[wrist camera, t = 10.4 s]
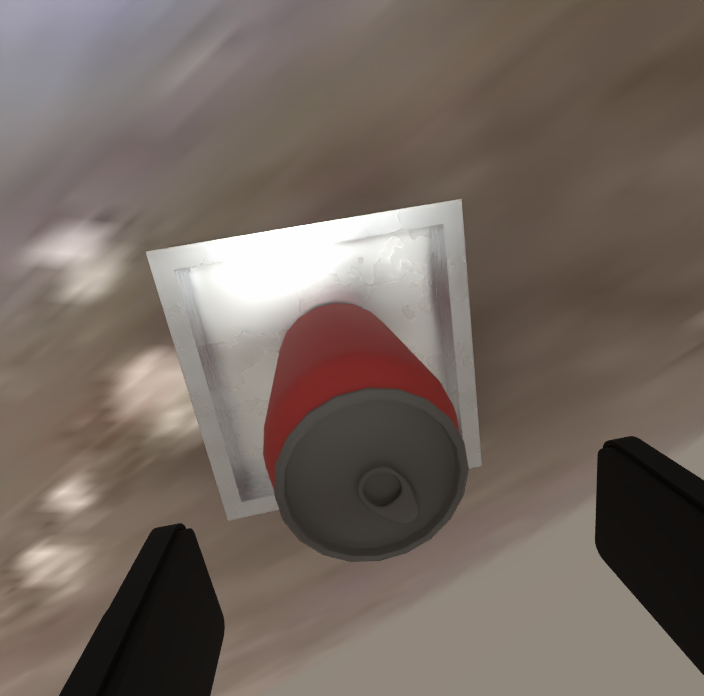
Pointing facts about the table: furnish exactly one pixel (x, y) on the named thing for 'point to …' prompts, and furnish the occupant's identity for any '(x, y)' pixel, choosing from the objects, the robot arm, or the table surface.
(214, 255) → the rimmed tray
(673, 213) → the table surface
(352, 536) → the beer can
